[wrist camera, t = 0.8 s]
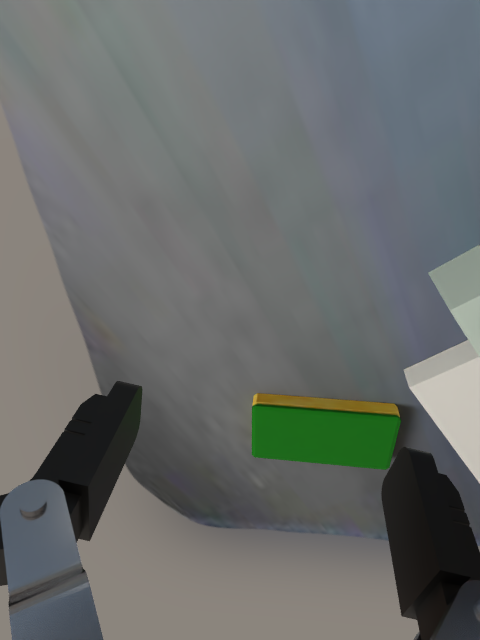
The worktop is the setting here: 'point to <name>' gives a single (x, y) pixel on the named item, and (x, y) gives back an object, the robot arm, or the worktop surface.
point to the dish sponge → (324, 430)
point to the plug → (462, 292)
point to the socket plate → (452, 398)
